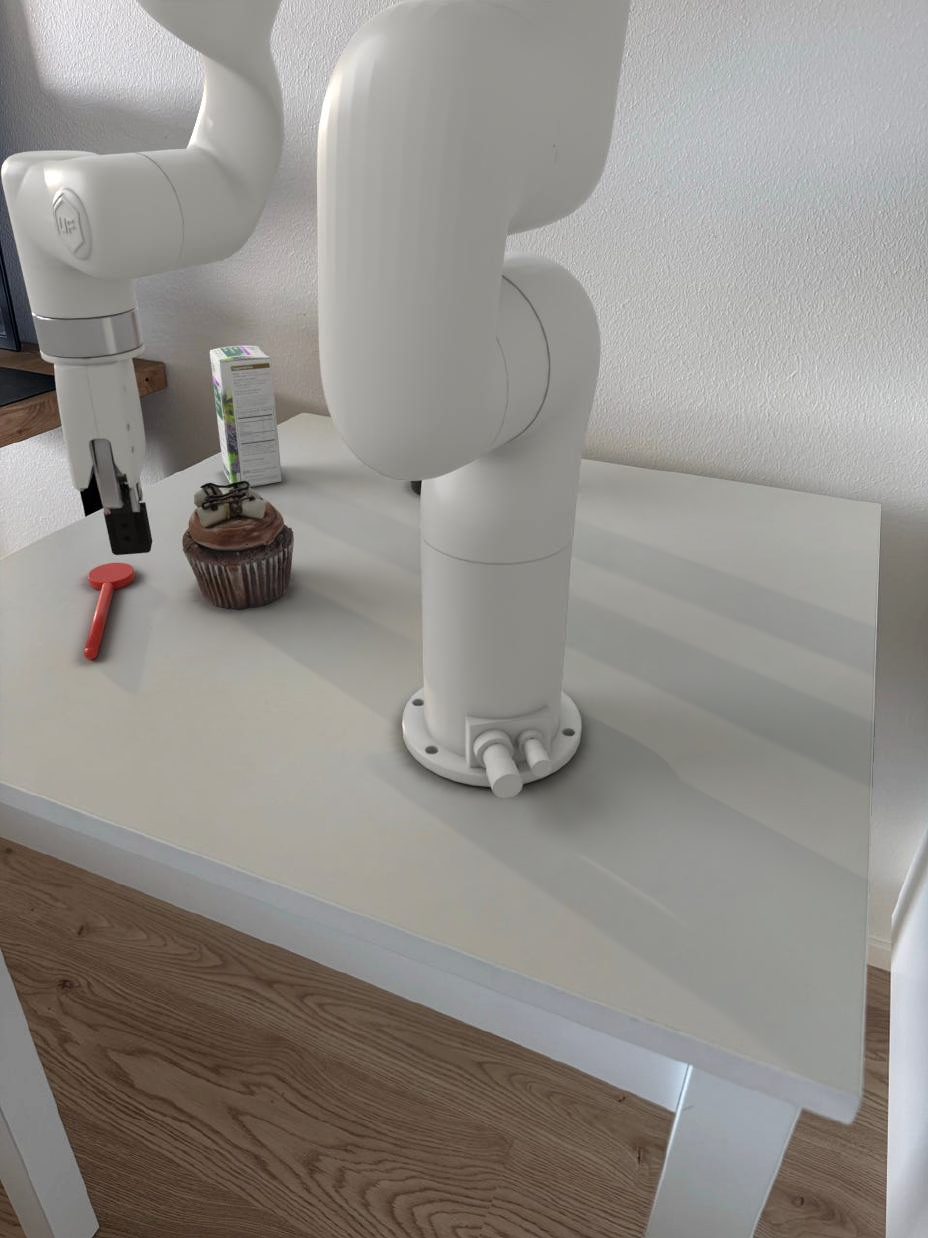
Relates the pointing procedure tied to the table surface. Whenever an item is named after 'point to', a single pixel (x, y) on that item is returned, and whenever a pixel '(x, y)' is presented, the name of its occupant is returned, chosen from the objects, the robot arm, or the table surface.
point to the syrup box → (246, 414)
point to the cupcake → (238, 547)
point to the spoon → (105, 598)
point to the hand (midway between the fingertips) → (132, 549)
